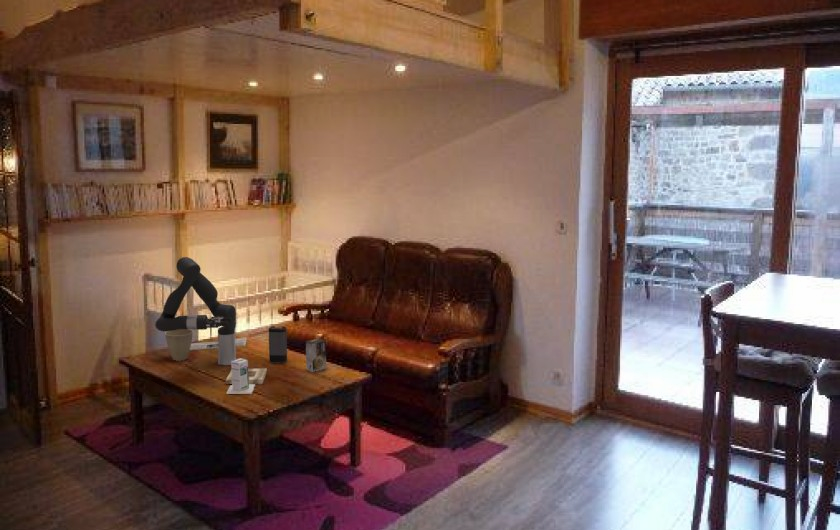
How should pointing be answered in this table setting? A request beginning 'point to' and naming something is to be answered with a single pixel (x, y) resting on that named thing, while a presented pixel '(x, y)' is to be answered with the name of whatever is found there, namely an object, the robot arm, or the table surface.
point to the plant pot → (179, 343)
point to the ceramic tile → (245, 391)
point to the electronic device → (277, 345)
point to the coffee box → (315, 355)
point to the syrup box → (240, 374)
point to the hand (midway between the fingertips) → (229, 321)
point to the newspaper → (215, 344)
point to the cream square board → (257, 373)
